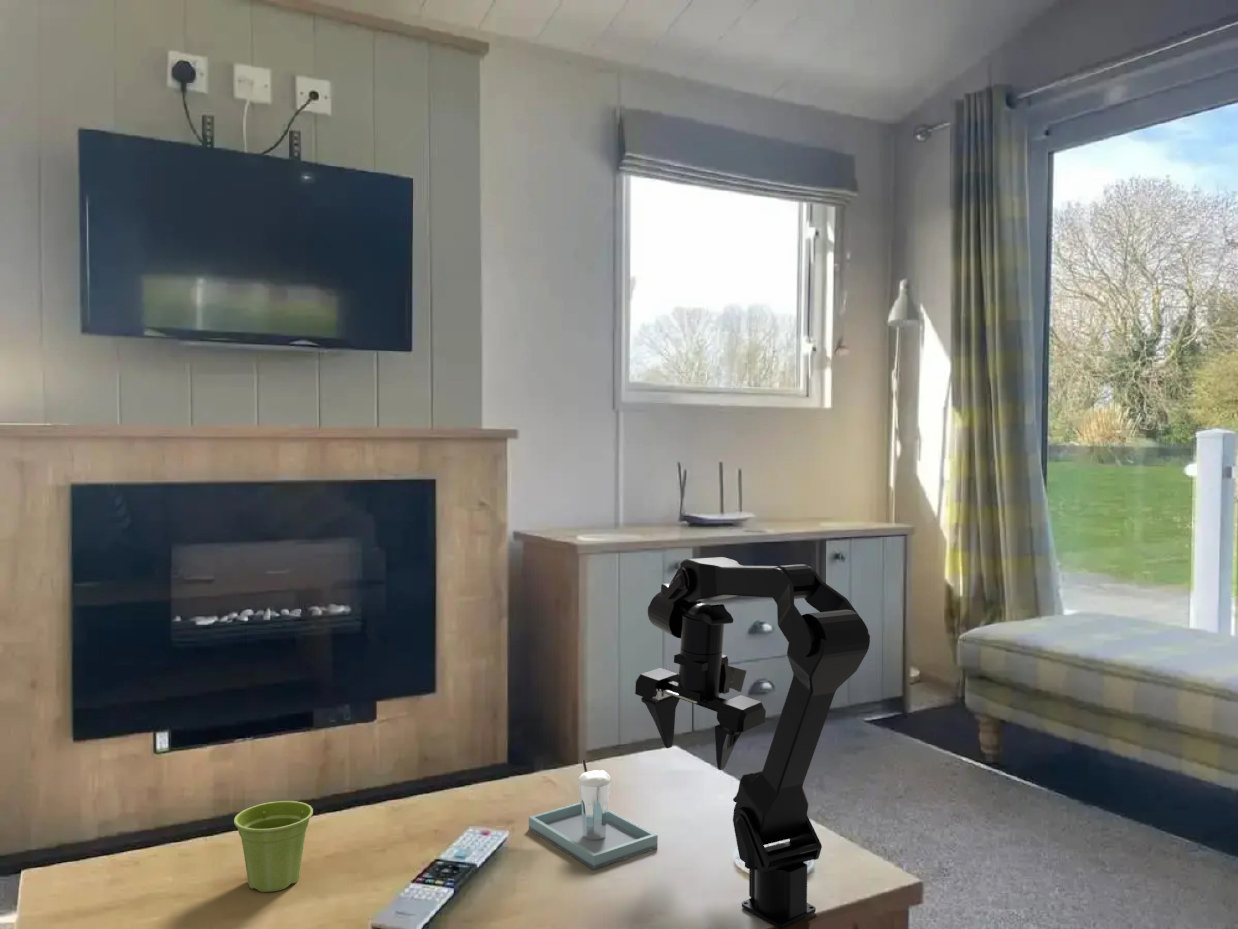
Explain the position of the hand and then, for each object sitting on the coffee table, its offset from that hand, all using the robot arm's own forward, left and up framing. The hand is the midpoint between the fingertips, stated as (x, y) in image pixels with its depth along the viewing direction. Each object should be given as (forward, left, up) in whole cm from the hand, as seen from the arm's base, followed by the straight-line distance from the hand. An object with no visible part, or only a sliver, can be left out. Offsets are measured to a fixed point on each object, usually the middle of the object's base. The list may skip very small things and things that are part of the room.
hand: (694, 758), depth 127 cm
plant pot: (+25, +49, -13) cm, 57 cm away
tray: (+11, +9, -13) cm, 19 cm away
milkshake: (+11, +9, -13) cm, 19 cm away
